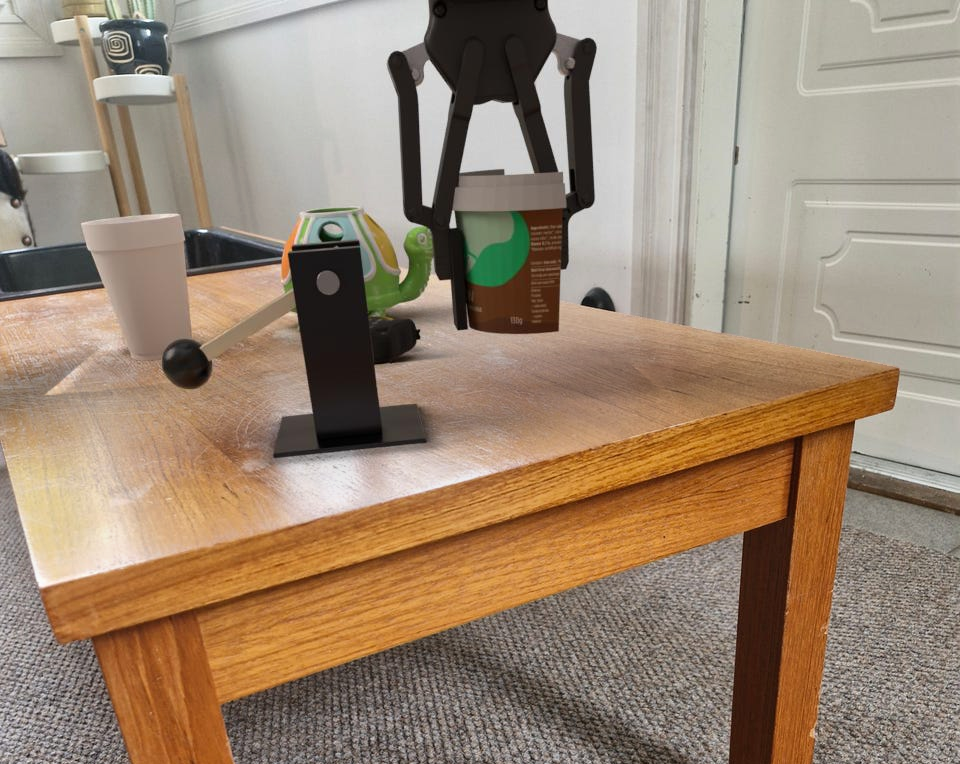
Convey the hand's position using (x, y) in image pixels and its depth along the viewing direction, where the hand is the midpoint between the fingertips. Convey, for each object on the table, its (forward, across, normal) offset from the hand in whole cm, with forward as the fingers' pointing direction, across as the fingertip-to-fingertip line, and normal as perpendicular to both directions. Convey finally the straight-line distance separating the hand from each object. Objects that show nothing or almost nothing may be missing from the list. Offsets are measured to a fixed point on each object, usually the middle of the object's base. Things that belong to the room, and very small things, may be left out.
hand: (504, 321), depth 66 cm
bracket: (+6, -12, -6) cm, 15 cm away
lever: (-1, -16, -6) cm, 18 cm away
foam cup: (+6, -32, +33) cm, 46 cm away
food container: (0, -1, 0) cm, 1 cm away
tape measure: (+6, -9, +19) cm, 22 cm away
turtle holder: (+6, -11, +42) cm, 44 cm away
